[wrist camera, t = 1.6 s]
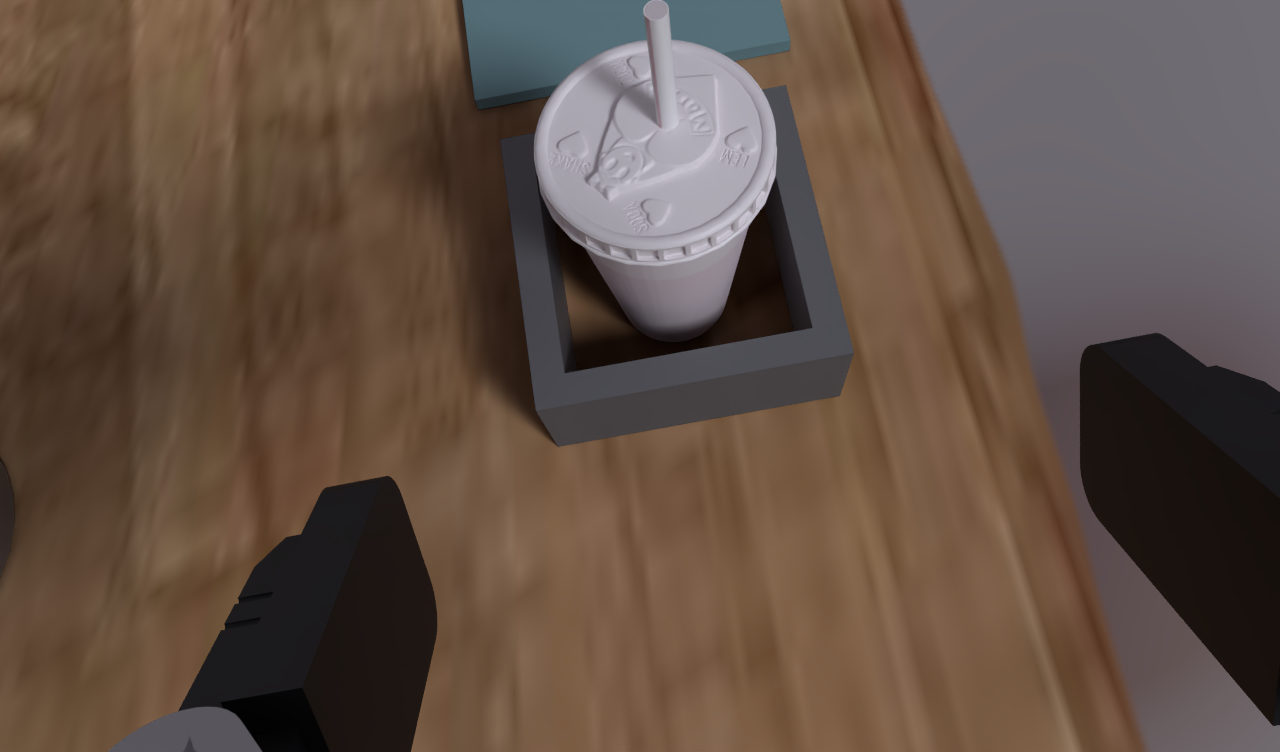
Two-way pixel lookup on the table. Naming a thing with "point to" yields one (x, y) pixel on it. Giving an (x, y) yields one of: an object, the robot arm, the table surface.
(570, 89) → the smoothie
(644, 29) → the coaster
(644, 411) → the frame
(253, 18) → the table surface
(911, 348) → the table surface
